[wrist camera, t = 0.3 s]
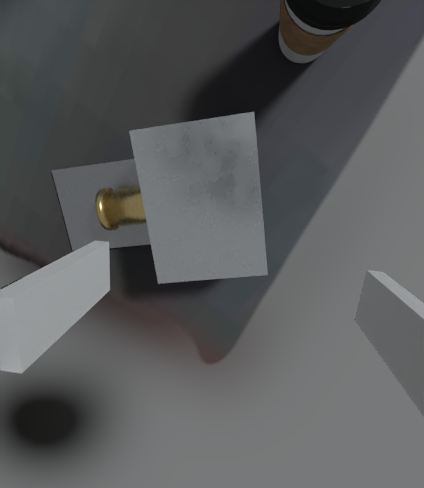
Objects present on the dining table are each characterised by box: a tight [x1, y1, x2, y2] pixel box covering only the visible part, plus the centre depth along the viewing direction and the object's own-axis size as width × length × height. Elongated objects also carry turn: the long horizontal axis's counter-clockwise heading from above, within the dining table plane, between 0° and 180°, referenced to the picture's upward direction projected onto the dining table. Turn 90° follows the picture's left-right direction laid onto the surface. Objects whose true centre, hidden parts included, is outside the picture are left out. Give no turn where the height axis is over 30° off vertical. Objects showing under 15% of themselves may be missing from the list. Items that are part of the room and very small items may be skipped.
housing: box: [52, 112, 268, 284], centre depth 36 cm, size 16×28×11 cm, turn 98°
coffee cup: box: [278, 0, 381, 63], centre depth 27 cm, size 8×8×15 cm
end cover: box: [95, 187, 147, 231], centre depth 37 cm, size 6×14×6 cm, turn 98°
